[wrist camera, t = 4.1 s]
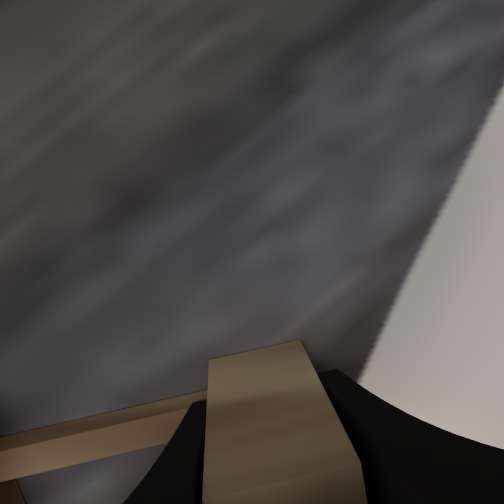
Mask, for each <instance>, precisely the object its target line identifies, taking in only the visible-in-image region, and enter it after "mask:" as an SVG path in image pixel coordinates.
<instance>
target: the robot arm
mask: <svg viewBox="0 0 504 504" xmlns="http://www.w3.org/2000/svg"><path fill="white" fill-rule="evenodd" d="M317 375H318V377H319V379H320V381H321V383H322V385H323V387H324V389H325V391H326V394H327V396H328V398H329V400H330V402H331V404H332V406H333V408H334V410H335V412H336V414H337V416H338V418H339V420H340V422H341V424H342V426H343V428H344V430H345V432H346V434H347V436H348V438H349V440H350V442H351V444H352V446H353V448H354V450H355V452H356V454H357V456H358V458H359V460H360V462H361V467H362V473H363V479H364V486H365V492H366V498H367V504H504V449H500V448H496V447H493V446H489V445H486V444H482V443H480V442H477V441H474V440H471V439H468V438H465V437H462V436H459V435H456V434H453V433H451V432H448V431H445V430H443V429H441V428H438V427H436V426H434V425H431V424H429V423H427V422H424V421H422V420H420V419H418V418H416V417H414V416H411V415H409V414H407V413H405V412H404V411H402V410H400V409H398V408H396V407H394V406H393V405H391V404H389V403H387V402H385V401H384V400H382V399H380V398H379V397H377V396H376V395H374V394H372V393H371V392H369V391H368V390H366V389H365V388H363V387H362V386H360V385H359V384H357V383H356V382H354V381H353V380H351V379H350V378H349V377H347V376H346V375H344V374H343V373H341V372H340V371H338V370H337V369H335V370H330V371H326V372H322V373H317ZM206 410H207V399H205V400H200V401H196V402H193V403H192V404H191V406H190V407H189V409H188V410H187V412H186V414H185V416H184V417H183V419H182V421H181V423H180V424H179V426H178V428H177V429H176V431H175V433H174V434H173V436H172V438H171V439H170V441H169V442H168V444H167V445H166V447H165V449H164V450H163V452H162V453H161V455H160V456H159V458H158V459H157V460H156V462H155V463H154V465H153V466H152V468H151V469H150V470H149V472H148V473H147V475H146V476H145V477H144V479H143V480H142V481H141V482H140V484H139V485H138V486H137V487H136V488H135V490H134V491H133V492H132V493H131V494H130V495H129V497H128V498H127V499H126V500H125V501H124V502H123V504H203V502H202V492H203V472H204V451H205V430H206Z"/></svg>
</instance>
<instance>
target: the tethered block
mask: <svg viewBox="0 0 504 504" xmlns="http://www.w3.org/2000/svg"><path fill="white" fill-rule="evenodd" d="M205 399H207V410H206V430H205V451H204V472H203V492H202V502H203V504H367V498H366V492H365V486H364V479H363V473H362V467H361V462H360V460H359V458H358V456H357V454H356V452H355V450H354V448H353V446H352V444H351V442H350V440H349V438H348V436H347V434H346V432H345V430H344V428H343V426H342V424H341V422H340V420H339V418H338V416H337V414H336V412H335V410H334V408H333V406H332V404H331V402H330V400H329V398H328V396H327V394H326V391H325V389H324V387H323V385H322V383H321V381H320V379H319V377H318V375H317V373H316V371H315V369H314V367H313V365H312V363H311V361H310V359H309V357H308V355H307V353H306V351H305V349H304V347H303V345H302V343H301V341H300V340H296V341H291V342H287V343H282V344H278V345H274V346H269V347H265V348H260V349H256V350H252V351H247V352H243V353H238V354H234V355H230V356H225V357H221V358H216V359H212V360H209V369H208V389H207V390H204V391H199V392H195V393H191V394H186V395H182V396H178V397H173V398H169V399H165V400H160V401H156V402H152V403H147V404H143V405H139V406H134V407H130V408H126V409H121V410H117V411H112V412H108V413H104V414H99V415H95V416H91V417H86V418H82V419H78V420H73V421H69V422H65V423H60V424H56V425H52V426H47V427H43V428H39V429H34V430H30V431H26V432H21V433H17V434H13V435H8V436H4V437H0V504H25V501H24V498H23V496H22V493H21V491H20V488H19V485H18V483H17V480H16V478H20V477H25V476H29V475H33V474H37V473H42V472H46V471H50V470H54V469H59V468H63V467H67V466H71V465H76V464H80V463H84V462H88V461H93V460H97V459H101V458H105V457H110V456H114V455H118V454H122V453H127V452H131V451H135V450H139V449H144V448H148V447H152V446H156V445H161V444H165V443H168V442H169V441H170V439H171V438H172V436H173V434H174V433H175V431H176V429H177V428H178V426H179V424H180V423H181V421H182V419H183V417H184V416H185V414H186V412H187V410H188V409H189V407H190V406H191V404H192V403H193V402H196V401H200V400H205Z"/></svg>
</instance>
